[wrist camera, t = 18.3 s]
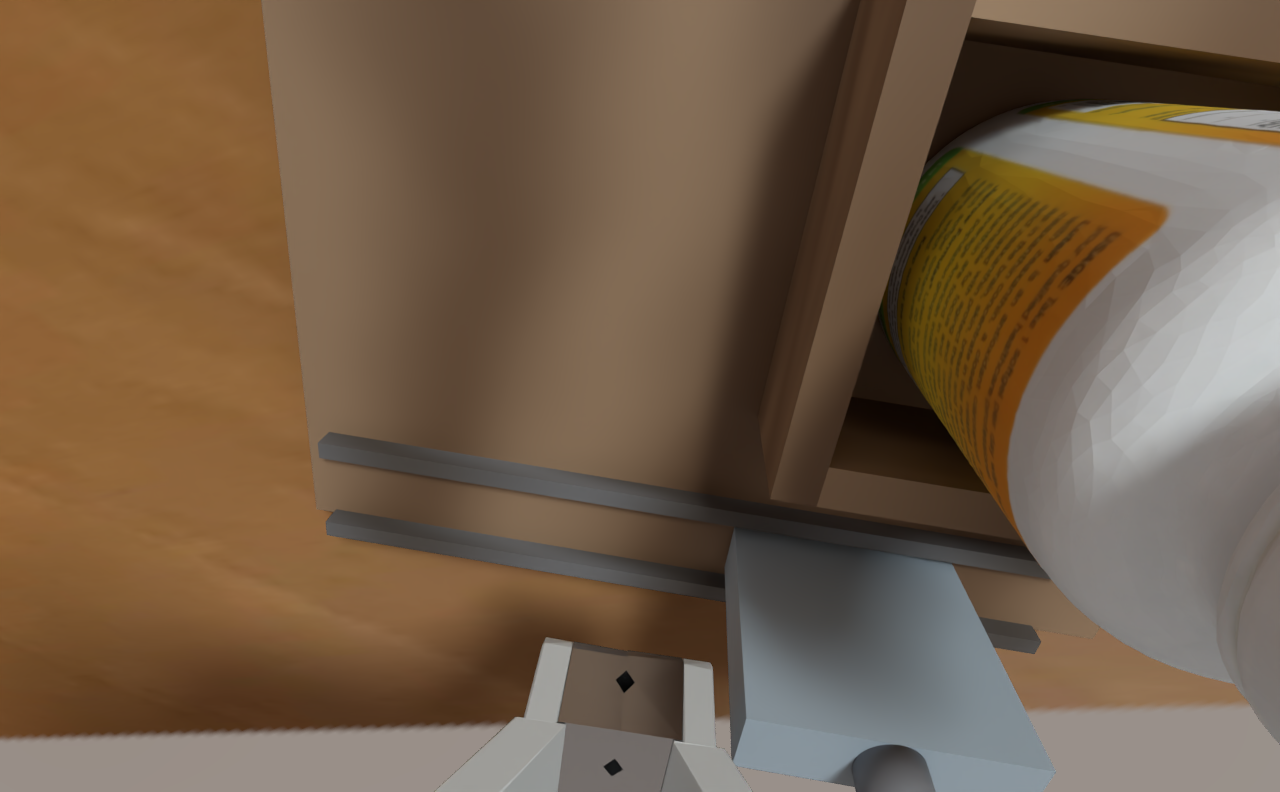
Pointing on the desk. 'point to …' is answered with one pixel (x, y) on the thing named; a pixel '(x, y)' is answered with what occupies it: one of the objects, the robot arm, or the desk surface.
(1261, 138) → the supplement bottle
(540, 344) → the board
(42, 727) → the desk surface
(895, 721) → the cover panel
